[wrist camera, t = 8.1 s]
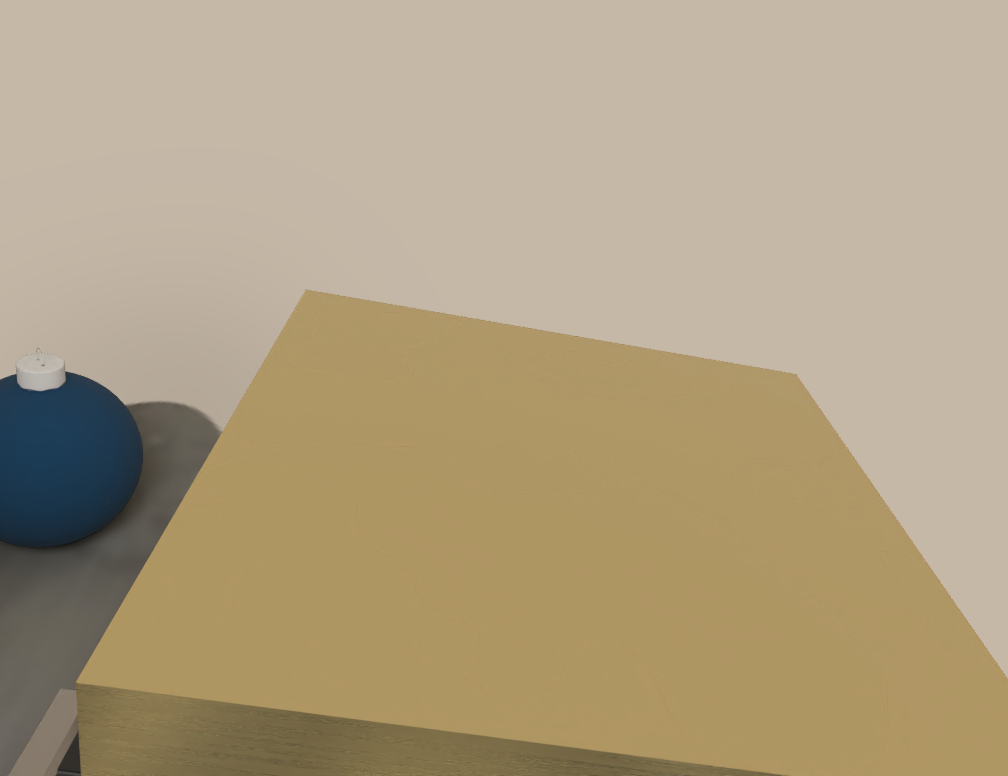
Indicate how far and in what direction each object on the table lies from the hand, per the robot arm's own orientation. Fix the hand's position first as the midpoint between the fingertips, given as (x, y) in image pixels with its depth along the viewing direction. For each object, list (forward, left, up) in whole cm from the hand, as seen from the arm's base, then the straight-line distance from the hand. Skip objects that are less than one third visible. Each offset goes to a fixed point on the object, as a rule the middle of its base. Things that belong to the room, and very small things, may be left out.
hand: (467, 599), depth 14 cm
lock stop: (0, -5, -8) cm, 10 cm away
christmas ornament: (-21, +22, -20) cm, 36 cm away
